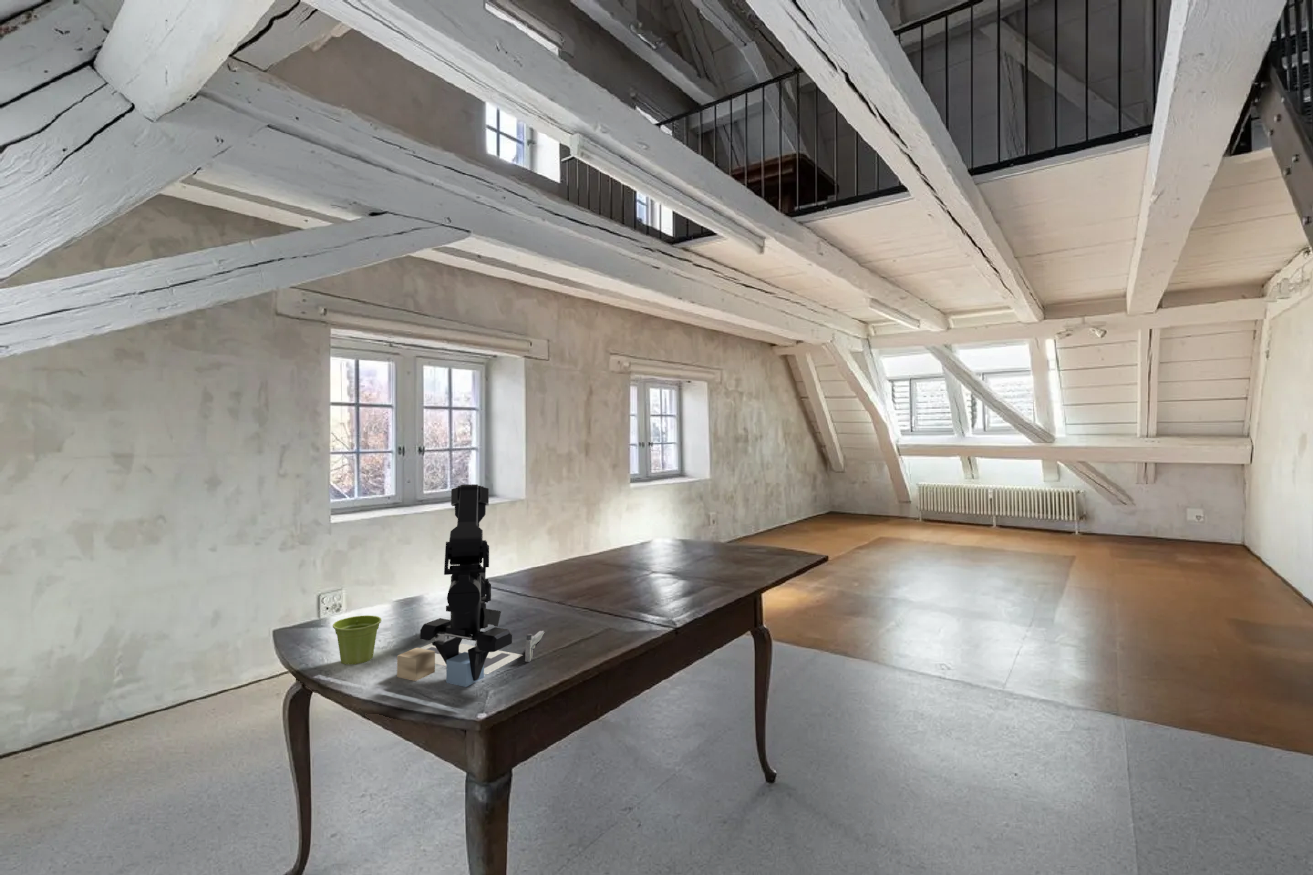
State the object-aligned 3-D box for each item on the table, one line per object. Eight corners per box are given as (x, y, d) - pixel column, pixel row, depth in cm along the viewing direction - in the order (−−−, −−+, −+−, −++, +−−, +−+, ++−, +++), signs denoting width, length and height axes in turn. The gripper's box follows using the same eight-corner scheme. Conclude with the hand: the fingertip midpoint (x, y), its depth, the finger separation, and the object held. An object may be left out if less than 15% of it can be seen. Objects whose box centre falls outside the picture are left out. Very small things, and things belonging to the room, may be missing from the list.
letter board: (440, 642, 141) (440, 639, 141) (523, 657, 131) (523, 654, 131) (399, 658, 130) (399, 656, 130) (486, 677, 120) (486, 674, 120)
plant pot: (387, 662, 128) (388, 621, 128) (340, 674, 121) (340, 631, 121) (372, 650, 135) (372, 612, 135) (326, 661, 128) (326, 621, 128)
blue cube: (464, 676, 120) (464, 651, 120) (483, 680, 118) (484, 655, 118) (446, 685, 116) (446, 660, 116) (466, 690, 114) (466, 663, 114)
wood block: (416, 671, 123) (416, 647, 123) (434, 675, 121) (435, 650, 121) (397, 680, 119) (397, 655, 119) (415, 684, 117) (416, 659, 117)
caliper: (530, 666, 127) (530, 636, 127) (525, 666, 127) (525, 636, 127) (544, 634, 147) (544, 609, 147) (540, 634, 147) (540, 609, 147)
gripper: (529, 594, 121) (528, 671, 121) (458, 584, 128) (457, 657, 128) (493, 608, 111) (492, 692, 111) (418, 597, 118) (417, 675, 118)
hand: (465, 677), depth 117 cm, fingers closed on blue cube, 5 cm apart
